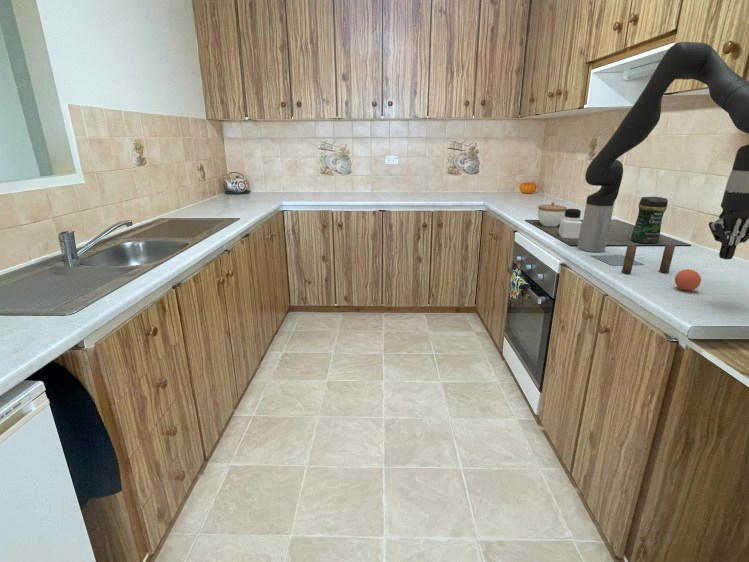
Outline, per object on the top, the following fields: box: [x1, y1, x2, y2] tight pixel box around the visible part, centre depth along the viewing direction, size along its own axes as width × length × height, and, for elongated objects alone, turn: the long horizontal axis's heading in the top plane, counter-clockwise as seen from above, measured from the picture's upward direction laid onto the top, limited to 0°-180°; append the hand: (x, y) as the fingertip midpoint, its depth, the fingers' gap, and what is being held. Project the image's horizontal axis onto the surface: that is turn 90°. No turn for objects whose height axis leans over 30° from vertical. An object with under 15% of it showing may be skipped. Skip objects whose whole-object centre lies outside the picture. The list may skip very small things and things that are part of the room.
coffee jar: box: [630, 196, 669, 244], centre depth 174 cm, size 10×8×19 cm
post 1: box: [621, 244, 638, 275], centre depth 134 cm, size 3×3×9 cm
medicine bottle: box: [558, 208, 583, 240], centre depth 182 cm, size 7×7×12 cm
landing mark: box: [590, 254, 645, 267], centre depth 150 cm, size 12×12×1 cm
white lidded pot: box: [537, 201, 568, 228], centre depth 205 cm, size 13×13×11 cm
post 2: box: [658, 243, 676, 274], centre depth 136 cm, size 3×3×9 cm
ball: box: [674, 268, 702, 291], centre depth 121 cm, size 6×6×6 cm
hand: (725, 258), depth 109 cm, fingers closed
